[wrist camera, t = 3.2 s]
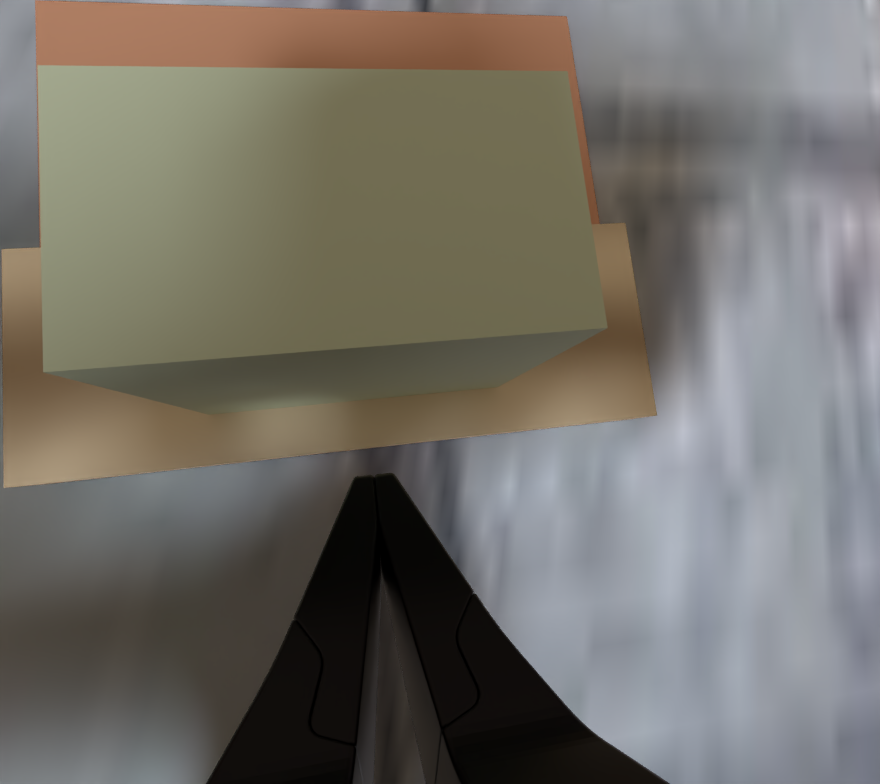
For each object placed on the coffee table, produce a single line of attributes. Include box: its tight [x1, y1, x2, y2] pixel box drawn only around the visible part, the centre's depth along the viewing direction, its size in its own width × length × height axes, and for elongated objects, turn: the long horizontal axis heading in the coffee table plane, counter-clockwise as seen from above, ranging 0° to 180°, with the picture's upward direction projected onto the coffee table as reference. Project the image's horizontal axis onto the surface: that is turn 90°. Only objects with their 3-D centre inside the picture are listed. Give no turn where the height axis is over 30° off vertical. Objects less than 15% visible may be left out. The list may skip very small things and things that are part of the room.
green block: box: [38, 65, 608, 415], centre depth 12 cm, size 5×9×8 cm, turn 96°
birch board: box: [2, 223, 657, 488], centre depth 16 cm, size 7×20×2 cm, turn 96°
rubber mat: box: [35, 0, 600, 248], centre depth 18 cm, size 10×20×1 cm, turn 96°
